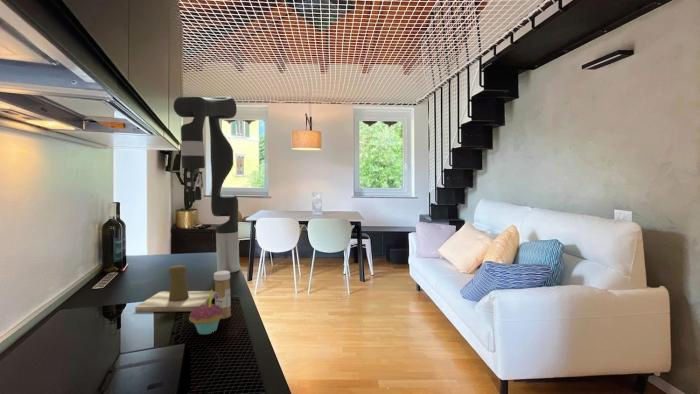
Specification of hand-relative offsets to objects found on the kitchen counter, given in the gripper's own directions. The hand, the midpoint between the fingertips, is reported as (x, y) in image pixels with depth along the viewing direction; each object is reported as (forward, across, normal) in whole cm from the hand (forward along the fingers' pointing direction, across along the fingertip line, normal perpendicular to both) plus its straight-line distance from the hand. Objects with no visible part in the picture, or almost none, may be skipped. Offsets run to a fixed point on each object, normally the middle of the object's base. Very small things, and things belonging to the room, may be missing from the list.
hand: (195, 201), depth 130 cm
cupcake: (+32, -35, -10) cm, 49 cm away
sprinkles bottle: (+33, -25, -13) cm, 43 cm away
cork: (+32, -10, +4) cm, 33 cm away
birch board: (+33, -10, +4) cm, 35 cm away
